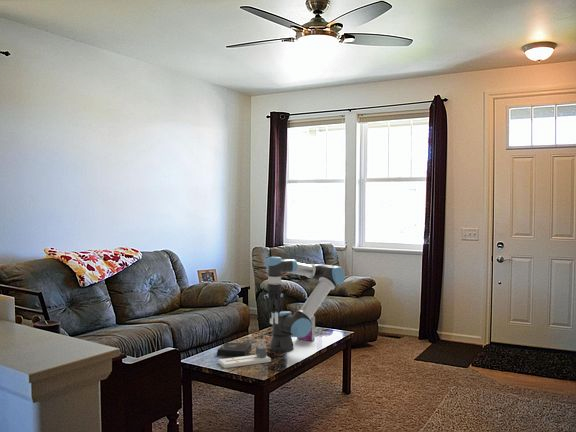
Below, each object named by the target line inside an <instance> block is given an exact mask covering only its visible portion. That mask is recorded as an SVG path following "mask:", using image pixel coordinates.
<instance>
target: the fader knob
mask: <svg viewBox="0 0 576 432" xmlns="http://www.w3.org/2000/svg"><path fill="white" fill-rule="evenodd" d="M255 355H257V356H258V357H266V356H267V347H265V346H263V345H260V346H259V345H258V346H257V345H256V347H255Z"/></svg>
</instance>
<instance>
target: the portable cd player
mask: <svg viewBox="0 0 576 432" xmlns="http://www.w3.org/2000/svg"><path fill="white" fill-rule="evenodd" d="M251 351H252V343H239V342H238V343H235V342H225V343H223V345H221V346H220V347H219V348H218V349H217V352H216V356H217V357H218V356H220V357H230V358H234V357H242V356H248V354H249V353H250V352H251Z"/></svg>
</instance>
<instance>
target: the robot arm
mask: <svg viewBox="0 0 576 432" xmlns="http://www.w3.org/2000/svg"><path fill="white" fill-rule="evenodd" d="M264 267H265V268H266V269H268V271H267V274H268V276H267V277H268V280H267V281H268V284H267V290H268V291H267V293H266V294H263V299H264V306H265V307H264V308H265V312H267V313H268V319H269V324H271V325H272V335H271V339H270V342H269V345H268V346H269V350H270V351H272V352H273V351H274V352H280V353H281V352H282V353H283V352H290V351H293V350H294V346H295V345H294V341H293V339H292V337H294V338H297V337H305V336H306V335H307V334H308V333H309V332H310V329H311V328H310V327H311V318H312V316H315V315H314V314H316V312H317V310H318V309H319V308H320V306H321V305H322V303H323V302H324V300H325V299H326V298H327V296H328V294H329V293H330V291H333V290H335V289H336V287H337V286H341V285H343V283H344V282H345V279H346V276H345V271H344V269H343V268H342V267H341V266H338V265H330V264H320V263H309V264H307V263H303V262H302V263H301V262H297V260H296V259H293V258H292V259H291V258H289V259H287V258H282V257H280V256H270V257H267V258H266V259H265V262H264ZM282 273H288V274H294V275H299V276H305V277H307V278H308V279H312V280H316V281H317V282H318V283H317V285H316V287H315V288H314V289H313V290H312V292H311V293H310V295H309V296H308V298H307V299H306V300H305V302H304V303H303V305H302V306H301V307H300V308H299V310H296V311H295V312H294V313H293V314H292V312H291V311H288V310H287V311H285V310H283V309H284V301H285V297H286V294H284V293H282ZM274 303H275V312H274V313H273V308H274Z"/></svg>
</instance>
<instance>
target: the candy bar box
mask: <svg viewBox="0 0 576 432" xmlns="http://www.w3.org/2000/svg"><path fill="white" fill-rule="evenodd" d="M310 328H311V329H310V332H309V333H308V334H307V335H306V336H305V337H296V339H297V340H300V341H308V342H313V341H315V339H316V338H315V337H316V336H315V334H316V316H315V315H313V316H312V318H311V327H310Z"/></svg>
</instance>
